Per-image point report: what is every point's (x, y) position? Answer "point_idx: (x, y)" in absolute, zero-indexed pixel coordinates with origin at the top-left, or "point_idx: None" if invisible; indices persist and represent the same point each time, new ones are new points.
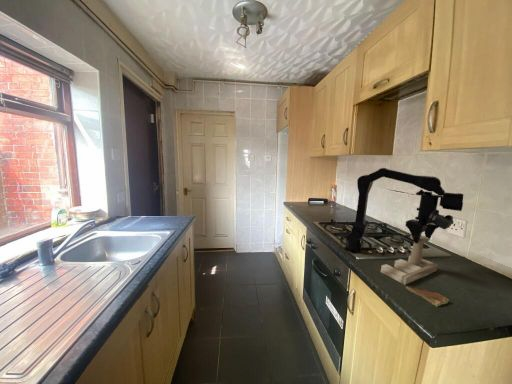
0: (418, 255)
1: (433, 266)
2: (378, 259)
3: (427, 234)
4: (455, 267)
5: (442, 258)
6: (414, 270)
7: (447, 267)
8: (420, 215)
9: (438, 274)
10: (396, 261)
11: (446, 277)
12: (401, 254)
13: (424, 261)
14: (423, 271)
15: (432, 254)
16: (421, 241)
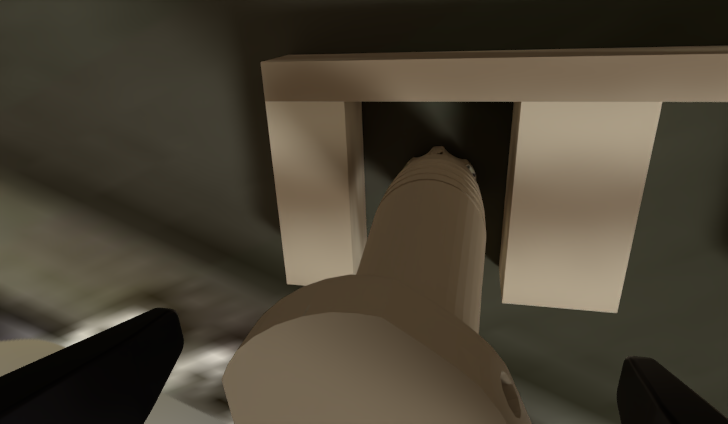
0: (469, 214)
1: (352, 59)
2: (569, 397)
3: (106, 421)
4: (49, 11)
5: (12, 150)
6: (657, 114)
7: (120, 44)
8: None
9: (342, 7)
10: (617, 300)
11: None
12: None
13: (323, 164)
14: (575, 55)
15: (31, 221)
16: (495, 351)
